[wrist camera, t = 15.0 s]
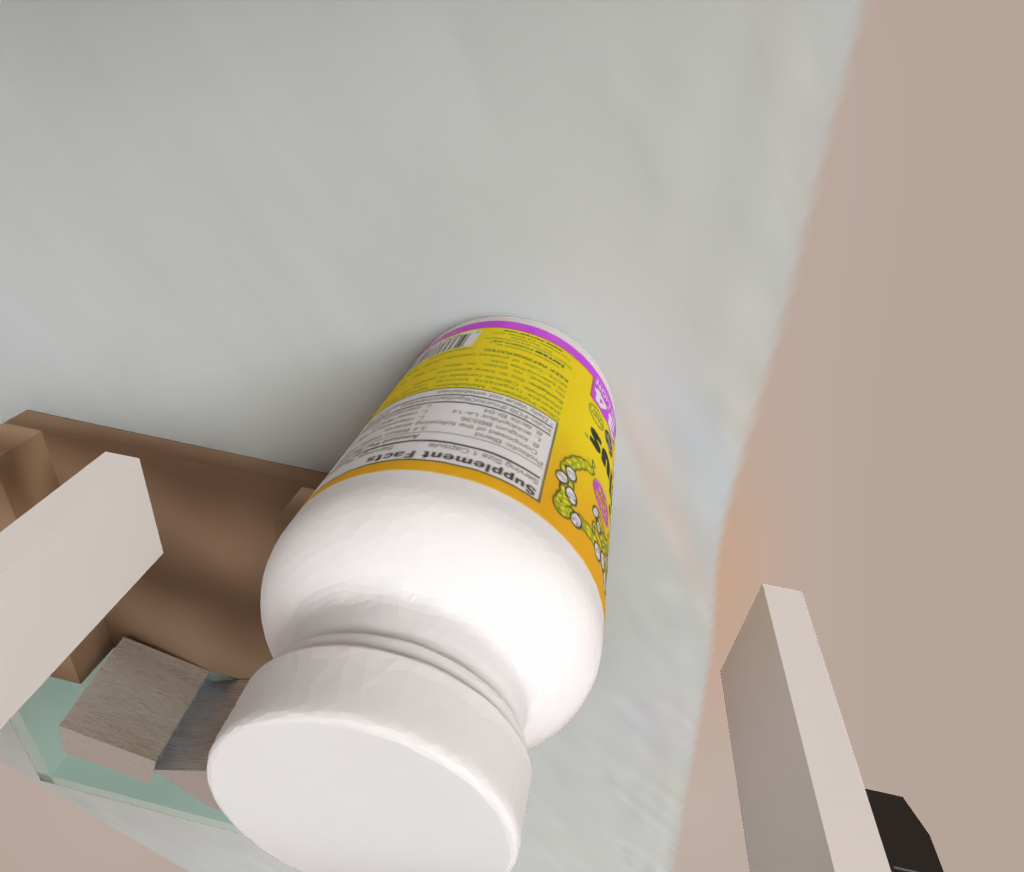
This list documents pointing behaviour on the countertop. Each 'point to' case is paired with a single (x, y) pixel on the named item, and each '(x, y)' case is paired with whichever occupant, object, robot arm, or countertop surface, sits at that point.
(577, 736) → the countertop surface
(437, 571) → the supplement bottle
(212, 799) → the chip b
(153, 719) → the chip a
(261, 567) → the slot board
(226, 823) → the tray
